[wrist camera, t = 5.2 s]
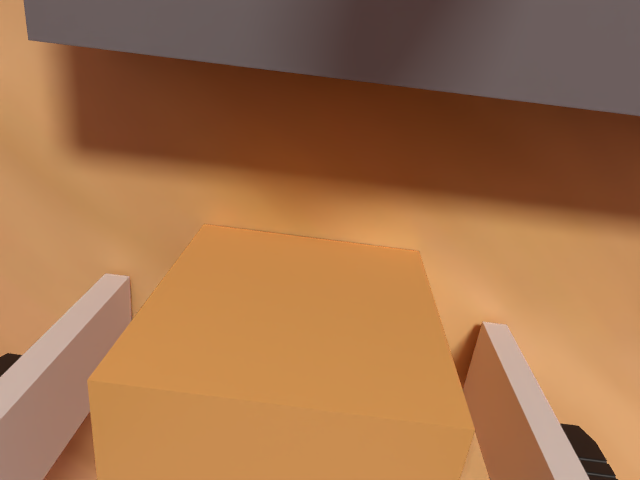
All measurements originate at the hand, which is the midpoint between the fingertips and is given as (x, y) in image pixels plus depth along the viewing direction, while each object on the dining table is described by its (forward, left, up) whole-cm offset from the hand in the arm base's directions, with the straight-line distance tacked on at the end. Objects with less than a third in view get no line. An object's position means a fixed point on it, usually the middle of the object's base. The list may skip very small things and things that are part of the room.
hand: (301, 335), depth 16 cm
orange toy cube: (0, 0, 0) cm, 0 cm away
